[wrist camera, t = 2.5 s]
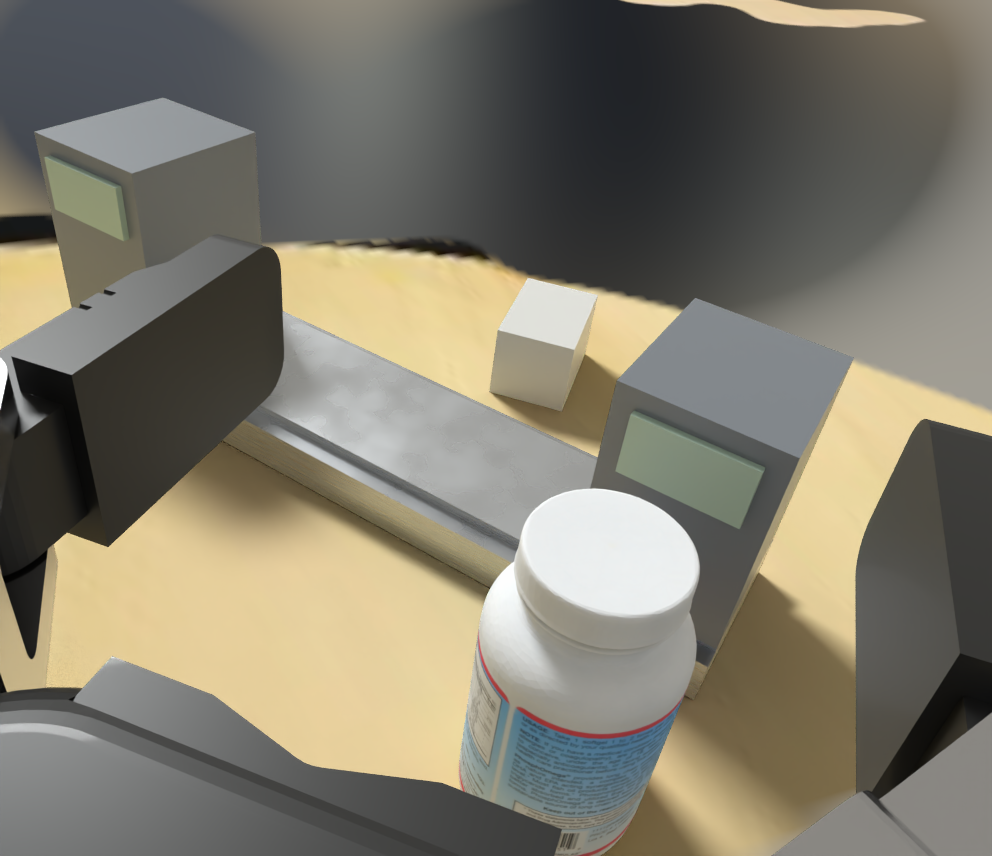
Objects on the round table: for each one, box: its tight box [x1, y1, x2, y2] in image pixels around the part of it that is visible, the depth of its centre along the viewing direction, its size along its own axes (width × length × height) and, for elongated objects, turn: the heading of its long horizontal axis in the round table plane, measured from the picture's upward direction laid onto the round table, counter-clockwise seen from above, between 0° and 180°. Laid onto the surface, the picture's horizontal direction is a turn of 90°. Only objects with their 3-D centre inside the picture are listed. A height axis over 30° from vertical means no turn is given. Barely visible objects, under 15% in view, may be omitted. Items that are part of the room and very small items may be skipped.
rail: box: [222, 311, 773, 700], centre depth 40 cm, size 8×34×2 cm, turn 58°
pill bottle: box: [459, 489, 700, 856], centre depth 26 cm, size 6×6×11 cm
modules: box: [34, 98, 854, 649], centre depth 36 cm, size 7×34×9 cm, turn 59°
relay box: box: [489, 278, 598, 411], centre depth 47 cm, size 6×4×4 cm, turn 163°
